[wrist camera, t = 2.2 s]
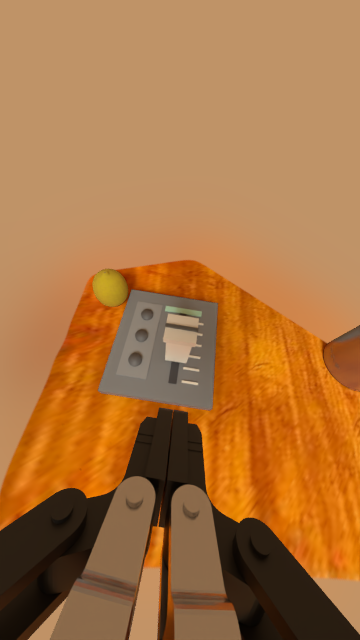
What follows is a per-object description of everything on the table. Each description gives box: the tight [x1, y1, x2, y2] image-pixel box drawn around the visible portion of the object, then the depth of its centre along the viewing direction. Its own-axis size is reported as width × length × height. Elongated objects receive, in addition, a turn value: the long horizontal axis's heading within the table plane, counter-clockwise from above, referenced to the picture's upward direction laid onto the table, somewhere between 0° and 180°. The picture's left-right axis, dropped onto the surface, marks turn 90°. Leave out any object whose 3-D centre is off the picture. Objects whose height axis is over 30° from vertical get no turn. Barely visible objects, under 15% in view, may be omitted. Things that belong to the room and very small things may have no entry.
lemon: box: [93, 269, 128, 307], centre depth 34 cm, size 6×6×8 cm
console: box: [98, 290, 218, 410], centre depth 33 cm, size 16×18×3 cm
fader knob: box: [163, 314, 199, 363], centre depth 27 cm, size 4×3×8 cm
